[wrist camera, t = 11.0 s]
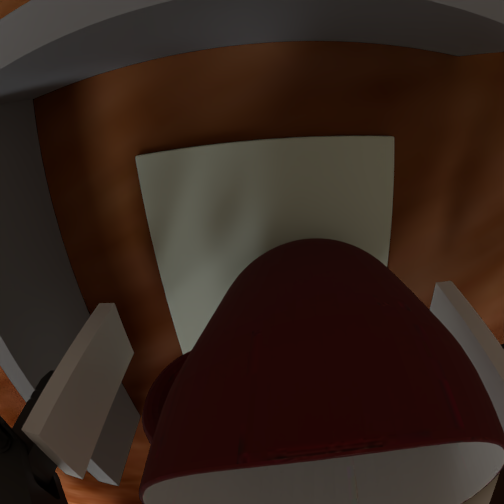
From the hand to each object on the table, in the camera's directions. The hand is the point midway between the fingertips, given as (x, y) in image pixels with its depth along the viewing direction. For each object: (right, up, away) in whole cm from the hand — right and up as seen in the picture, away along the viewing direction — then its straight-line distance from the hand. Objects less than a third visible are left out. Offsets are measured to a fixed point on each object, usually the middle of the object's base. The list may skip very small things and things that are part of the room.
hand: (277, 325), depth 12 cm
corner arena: (-1, +2, +2) cm, 3 cm away
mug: (0, +1, +2) cm, 3 cm away
